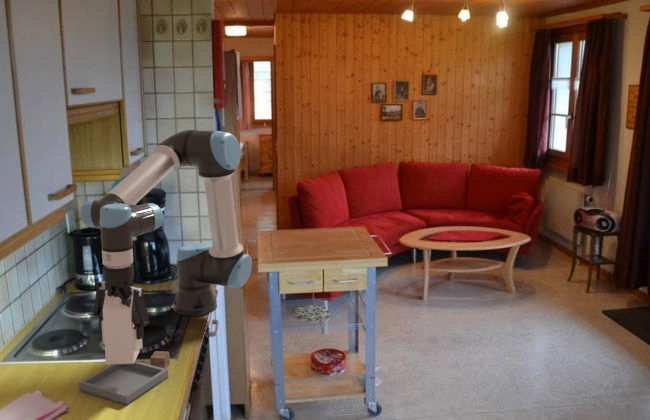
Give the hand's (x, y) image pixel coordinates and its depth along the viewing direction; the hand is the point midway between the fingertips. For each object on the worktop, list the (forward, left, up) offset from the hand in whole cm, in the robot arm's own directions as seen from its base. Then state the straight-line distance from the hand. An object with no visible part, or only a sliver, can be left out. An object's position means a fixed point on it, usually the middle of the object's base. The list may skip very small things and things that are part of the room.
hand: (122, 345), depth 160 cm
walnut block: (-12, +2, -11) cm, 17 cm away
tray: (0, 0, -11) cm, 11 cm away
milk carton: (0, 0, -4) cm, 4 cm away
